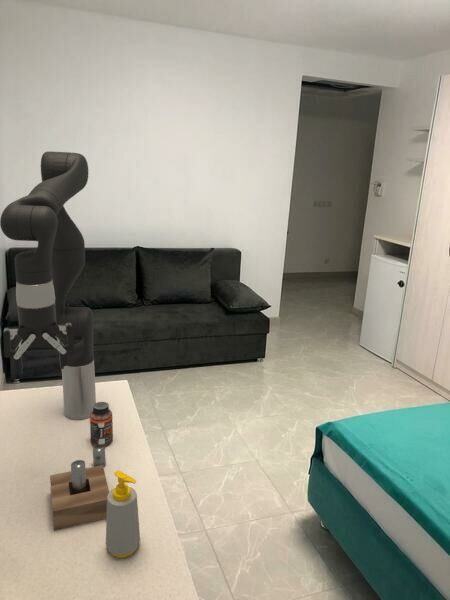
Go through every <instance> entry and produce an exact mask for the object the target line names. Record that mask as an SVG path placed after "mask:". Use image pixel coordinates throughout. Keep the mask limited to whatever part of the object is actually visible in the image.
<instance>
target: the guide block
mask: <svg viewBox="0 0 450 600" xmlns="http://www.w3.org/2000/svg"><path fill="white" fill-rule="evenodd" d="M85 471H86V489H87V492H84V493H79V494H74V495H73V490H72V474H71V470H70V471H66V472H60V473H55V474H50V475H49V481H50V483H49V484H50V494H51V507H52V509H51V510H52V521H53V531H58V530H63V529H66V528H71V527H74V526H80V525H83V524H89V523H93V522H97V521H100V520H101V521H102V520H105V519H106V518H107V496H108V493H109V492H110V490H109V486H108V485H109V484H108V481H107V477H106V473H105V469H104V467H103V465H101V466H96V467H94V466H91V467H87V468H86V467H85Z"/></svg>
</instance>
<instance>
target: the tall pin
mask: <svg viewBox="0 0 450 600" xmlns="http://www.w3.org/2000/svg"><path fill="white" fill-rule="evenodd" d="M85 469H86V462H85V461H84V460H81V459H78V460H74V461H72V462H71V464H70V471H71V474H72V490H73V495H74V494H79V493H84V492H87V489H86V471H85Z"/></svg>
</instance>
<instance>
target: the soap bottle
mask: <svg viewBox="0 0 450 600" xmlns="http://www.w3.org/2000/svg"><path fill="white" fill-rule="evenodd" d="M114 476H115V477H116V478H117V484H116V486H115V487H114V488H112V489H110V490H109V493H108V496H107V518H106V521H105V522H106V523H105V524H106V526H105V546H106V549H107V550H108V552H109V553H110V554H111V555H112V556H114V557H115V558H121V559H124V558H126V557H130V556H131V555H132V554H134V553H135V552H136V551H137V548H138V547H139V546H140V542H141V533H140V531H141V530H140V523H139V520H140V519H139V518H140V517H139V508H138V507H139V505H138V493H137V491H136V489H134V488H133V487H131V486H128V483H129V484H133V485H134V484H136V482H137V480H136V479H135V478H133V477H132V476H130V475H128V474H126V473H124V472H123V471H121V470H119V469H118V470H115V471H114Z"/></svg>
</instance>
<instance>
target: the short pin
mask: <svg viewBox="0 0 450 600" xmlns="http://www.w3.org/2000/svg"><path fill="white" fill-rule="evenodd" d="M92 457H93V458H92V459H93V461H92V462H93V463H92V464H93V467H96V466H101V465H103V468H104V467H106V460H107V459H106V446H103V445H96V446H94V445H93V447H92Z"/></svg>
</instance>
